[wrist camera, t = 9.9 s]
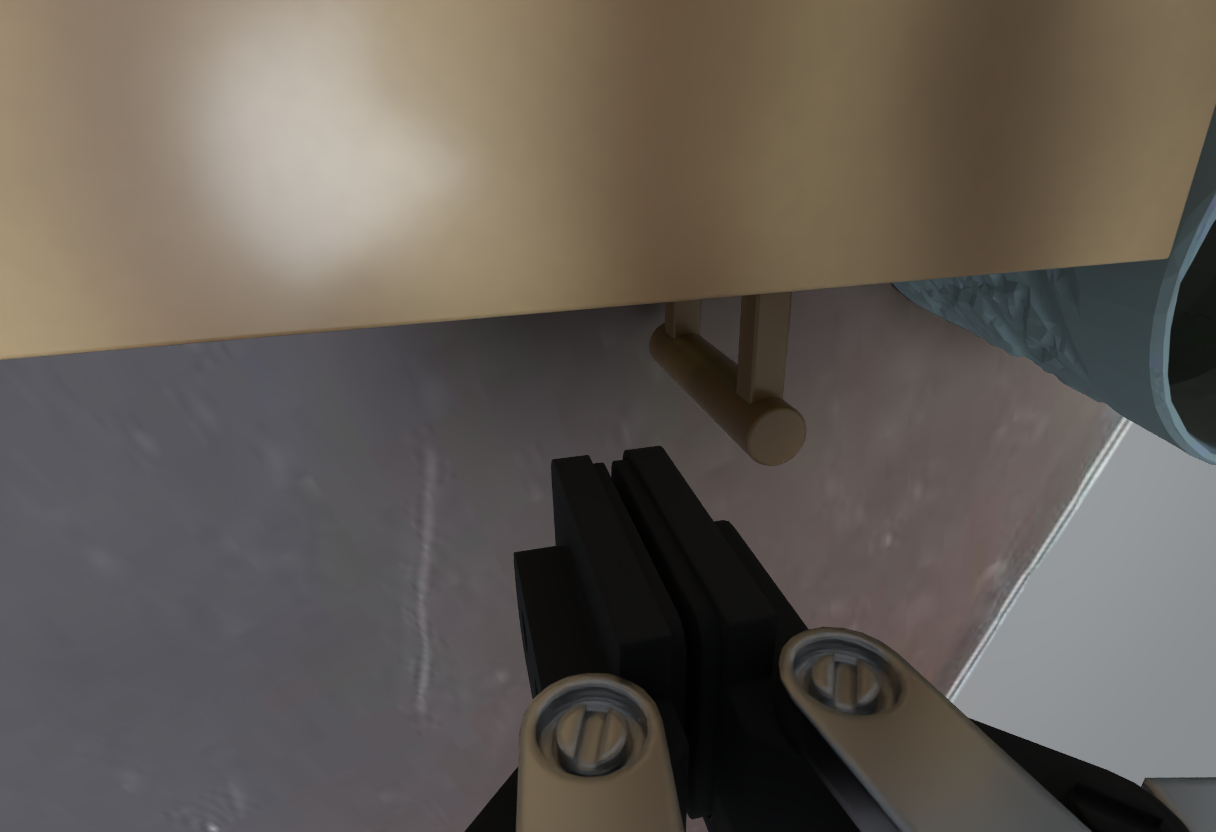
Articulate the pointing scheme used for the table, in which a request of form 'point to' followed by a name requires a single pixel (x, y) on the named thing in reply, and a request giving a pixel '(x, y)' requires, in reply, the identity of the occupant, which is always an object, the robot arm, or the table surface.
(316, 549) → the table surface
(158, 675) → the table surface
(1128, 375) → the blue-grey pot
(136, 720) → the table surface
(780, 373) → the cabinet door
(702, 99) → the curio cabinet
